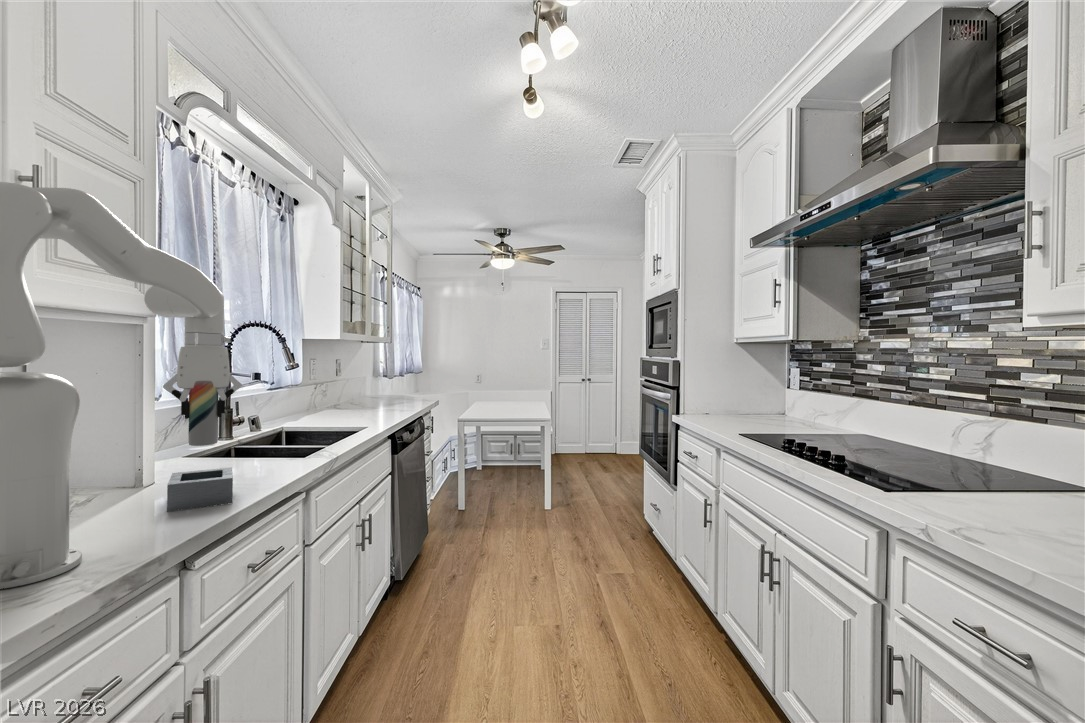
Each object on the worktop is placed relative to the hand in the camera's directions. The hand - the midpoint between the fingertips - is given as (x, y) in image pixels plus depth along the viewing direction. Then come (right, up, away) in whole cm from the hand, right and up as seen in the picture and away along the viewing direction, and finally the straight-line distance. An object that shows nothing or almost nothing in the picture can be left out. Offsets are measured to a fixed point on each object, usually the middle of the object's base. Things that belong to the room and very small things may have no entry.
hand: (203, 416), depth 112 cm
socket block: (0, -20, 0) cm, 20 cm away
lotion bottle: (0, -7, 0) cm, 7 cm away
